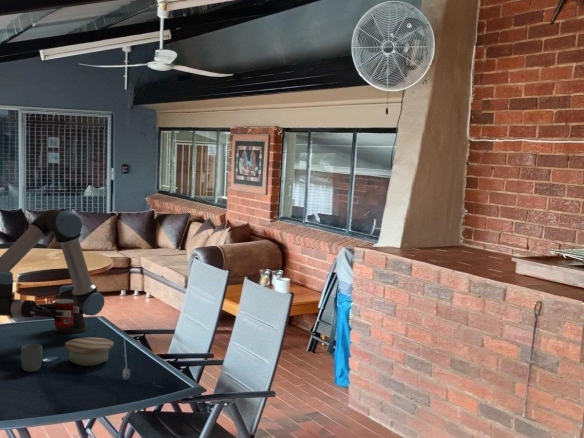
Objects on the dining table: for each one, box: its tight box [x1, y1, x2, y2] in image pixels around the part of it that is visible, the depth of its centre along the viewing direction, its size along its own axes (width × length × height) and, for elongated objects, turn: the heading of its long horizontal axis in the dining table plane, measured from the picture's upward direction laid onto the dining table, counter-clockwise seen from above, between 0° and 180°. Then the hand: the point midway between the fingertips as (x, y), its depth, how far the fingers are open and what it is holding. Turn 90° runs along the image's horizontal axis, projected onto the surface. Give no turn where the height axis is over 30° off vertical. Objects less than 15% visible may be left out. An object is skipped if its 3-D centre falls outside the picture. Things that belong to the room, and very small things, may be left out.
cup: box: [20, 343, 43, 373], centre depth 270 cm, size 8×8×10 cm
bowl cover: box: [64, 336, 114, 353], centre depth 284 cm, size 20×20×1 cm
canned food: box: [53, 298, 74, 327], centre depth 290 cm, size 8×8×11 cm
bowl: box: [69, 349, 110, 367], centre depth 285 cm, size 16×16×7 cm
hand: (74, 312), depth 289 cm, fingers closed on canned food, 8 cm apart
